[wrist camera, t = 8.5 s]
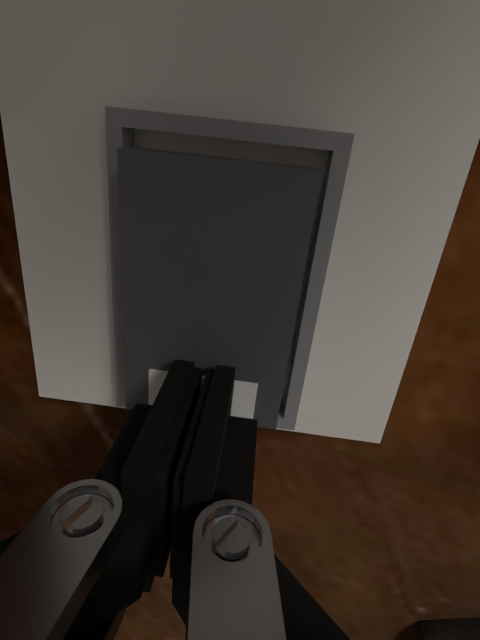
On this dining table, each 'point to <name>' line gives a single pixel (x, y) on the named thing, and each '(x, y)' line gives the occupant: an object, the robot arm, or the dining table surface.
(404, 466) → the dining table surface
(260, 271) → the panel
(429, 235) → the control panel
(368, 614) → the dining table surface
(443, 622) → the hardcover book
